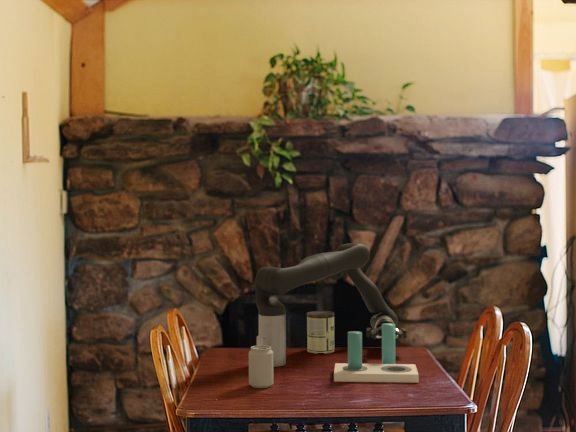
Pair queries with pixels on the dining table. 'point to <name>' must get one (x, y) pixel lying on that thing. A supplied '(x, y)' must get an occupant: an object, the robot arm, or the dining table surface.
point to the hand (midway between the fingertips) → (387, 336)
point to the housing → (377, 373)
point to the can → (261, 366)
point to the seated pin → (354, 350)
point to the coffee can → (320, 332)
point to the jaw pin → (388, 343)
